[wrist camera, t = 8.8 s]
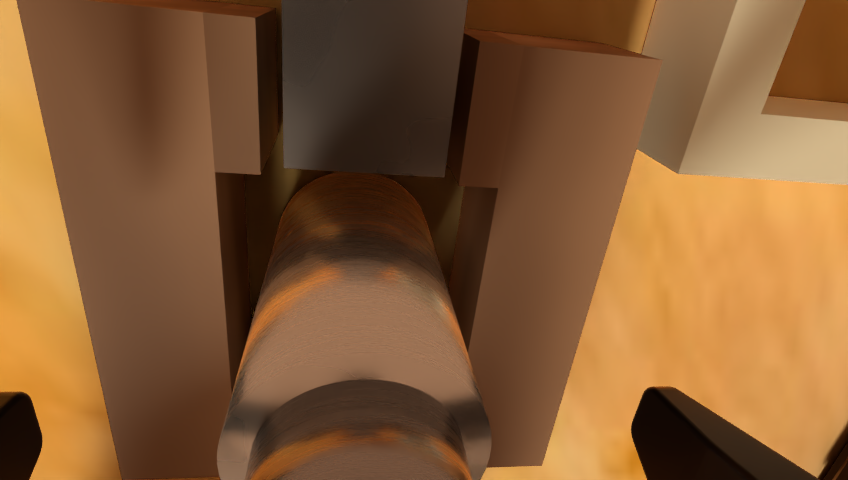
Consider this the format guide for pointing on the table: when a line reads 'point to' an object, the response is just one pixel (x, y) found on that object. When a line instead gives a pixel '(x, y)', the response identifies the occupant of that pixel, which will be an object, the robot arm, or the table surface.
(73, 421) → the table surface
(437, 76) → the dark grey block
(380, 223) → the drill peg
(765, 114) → the beige square frame
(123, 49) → the socket block
